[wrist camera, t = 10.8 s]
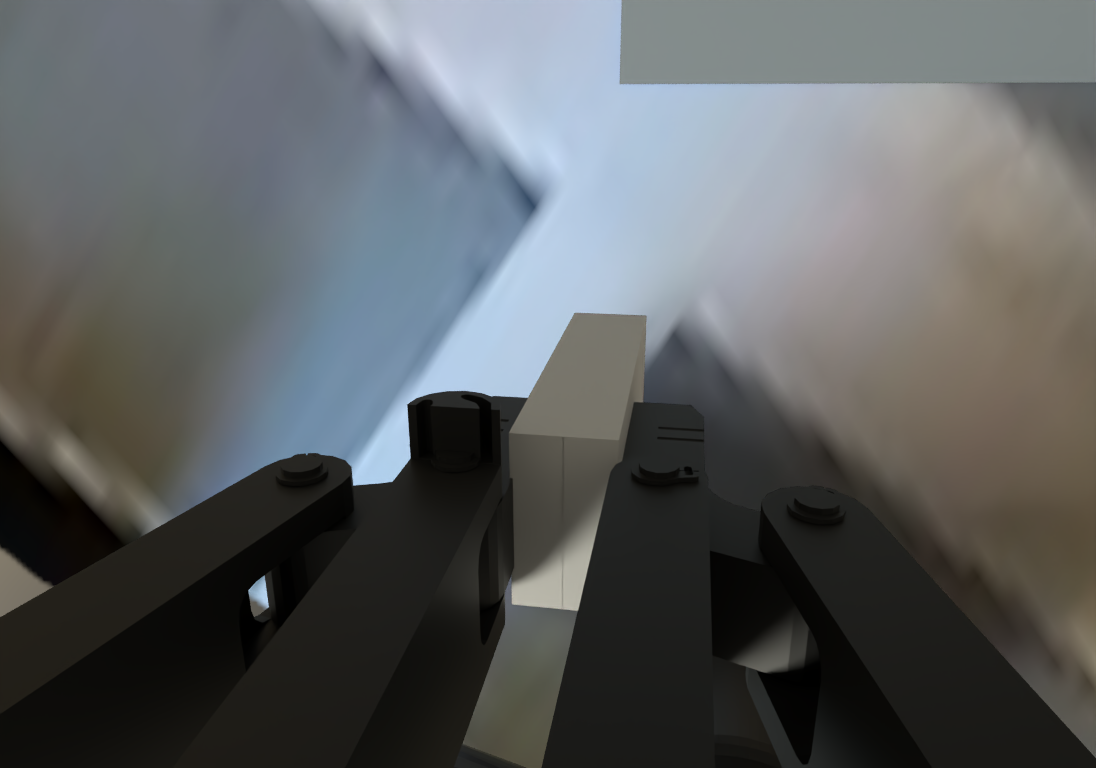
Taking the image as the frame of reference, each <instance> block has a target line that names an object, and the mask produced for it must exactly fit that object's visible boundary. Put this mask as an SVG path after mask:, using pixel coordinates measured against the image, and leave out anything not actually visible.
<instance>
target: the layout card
mask: <svg viewBox="0 0 1096 768" xmlns="http://www.w3.org/2000/svg"><path fill="white" fill-rule="evenodd" d="M1047 82H1096V0H622V15H621V54H620V84H773V83H1047Z"/></svg>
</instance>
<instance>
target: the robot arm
mask: <svg viewBox="0 0 1096 768" xmlns="http://www.w3.org/2000/svg"><path fill="white" fill-rule="evenodd" d="M645 341H646V316H642V315H618V314H593V313H574V315H573V317H572V319H571V321H570V322H569V324H568V326H567V328H566V330H565V332H564V333H563V335H562V337H561V339H560V341H559V343H558V344H557V346H556V348H555V350H554V352H553V353H552V355H551V357H550V359H549V361H548V363H547V364H546V366H545V368H544V370H543V372H542V373H541V375H540V377H539V379H538V381H537V383H536V384H535V386H534V388H533V390H532V392H531V394H530V395H529V397H528V398H518V397H501V396H493V397H491V396H488V395H485V394H482V393H476V392H469V391H447V392H440V393H433V394H429V395H426V396H423V397H419V398H416V399H415V400H413V401H412V402H410V403H409V404H407V405H408V421H409V437H410V453H411V459H410V460H409V461H408V463H407V464H406V465H405V467H404V468H403V469H402V471H401V472H400V473H399V474H398V476H397V477H396V478H395V480H394V481H393V482H388V483H381V484H368V485H356V486H353V480H352V469H351V466H350V465H349V464H348V463H347V462H346V461H345V460H342V459H339V458H337V457H334V456H325V455H320V454H318V453H308V455H306V454H297V455H294V456H293V457H291V458H287V459H283V460H279V461H277V462H274V463H272V464H270V465H267V466H265V467H263V468H261V469H260V470H258V471H256V472H254V473H253V474H251V475H249V476H247V477H245V478H244V479H242V480H240V481H238V482H237V483H235V484H233V485H231V486H230V487H228V488H226V489H224V490H223V491H221V492H219V493H217V494H216V495H214V496H212V497H210V498H209V499H207V500H205V501H203V502H202V503H200V504H198V505H196V506H195V507H193V508H191V509H189V510H188V511H186V512H184V513H182V514H181V515H179V516H177V517H175V518H174V519H172V520H170V521H168V522H167V523H165V524H163V525H161V526H160V527H158V528H156V529H154V530H153V531H151V532H149V533H147V534H146V535H144V536H142V537H140V538H139V539H137V540H135V541H133V542H131V543H130V544H128V545H126V546H124V547H123V548H121V549H119V550H117V551H116V552H114V553H112V554H110V555H109V556H107V557H105V558H103V559H102V560H100V561H98V562H96V563H95V564H93V565H91V566H89V567H88V568H86V569H84V570H82V571H81V572H79V573H77V574H75V575H74V576H72V577H70V578H68V579H67V580H65V581H63V582H61V583H60V584H58V585H56V586H54V587H53V588H51V589H49V590H47V591H46V592H44V593H42V594H40V595H39V596H37V597H35V598H33V599H32V600H30V601H28V602H26V603H25V604H23V605H21V606H19V607H18V608H16V609H14V610H12V611H11V612H9V613H7V614H6V615H4V616H2V617H0V768H526V767H523V766H520V765H518V764H515V763H512V762H510V761H507V760H504V759H502V758H499V757H496V756H493V755H491V754H488V753H485V752H483V751H480V750H477V749H475V748H472V747H469V746H467V745H464V744H462V743H463V740H464V737H465V735H466V732H467V729H468V726H469V723H470V720H471V718H472V715H473V712H474V709H475V706H476V704H477V701H478V698H479V695H480V692H481V690H482V687H483V684H484V681H485V678H486V675H487V673H488V670H489V667H490V664H491V661H492V659H493V656H494V653H495V650H496V647H497V644H498V642H499V639H500V636H501V633H502V630H503V628H504V625H505V590H506V587H507V585H508V582H509V579H510V577H511V574H512V604H515V605H525V606H535V607H545V608H556V609H566V610H576V611H578V613H577V617H576V622H575V626H574V630H573V635H572V639H571V643H570V648H569V652H568V656H567V660H566V665H565V669H564V673H563V678H562V682H561V686H560V691H559V695H558V699H557V703H556V708H555V712H554V716H553V721H552V725H551V729H550V734H549V738H548V742H547V746H546V751H545V755H544V759H543V764H542V768H1096V758H1095V757H1094V756H1093V755H1092V753H1091V752H1090V751H1089V750H1088V749H1087V748H1086V747H1085V746H1084V745H1083V744H1082V743H1081V741H1080V740H1079V739H1078V738H1077V737H1076V736H1075V735H1074V734H1073V733H1072V732H1071V730H1070V729H1069V728H1068V727H1067V726H1066V725H1065V724H1064V723H1063V722H1062V721H1061V720H1060V718H1059V717H1058V716H1057V715H1056V714H1055V713H1054V712H1053V711H1052V710H1051V709H1050V707H1049V706H1048V705H1047V704H1046V703H1045V702H1044V701H1043V700H1042V699H1041V698H1040V697H1039V695H1038V694H1037V693H1036V692H1035V691H1034V690H1033V689H1032V688H1031V687H1030V686H1029V684H1028V683H1027V682H1026V681H1025V680H1024V679H1023V678H1022V677H1021V676H1020V675H1019V674H1018V672H1017V671H1016V670H1015V669H1014V668H1013V667H1012V666H1011V665H1010V664H1009V663H1008V661H1007V660H1006V659H1005V658H1004V657H1003V656H1002V655H1001V654H1000V653H999V652H998V651H997V649H996V648H995V647H994V646H993V645H992V644H991V643H990V642H989V641H988V640H987V639H986V637H985V636H984V635H983V634H982V633H981V632H980V631H979V630H978V629H977V628H976V626H975V625H974V624H973V623H972V622H971V621H970V620H969V619H968V618H967V617H966V616H965V614H964V613H963V612H962V611H961V610H960V609H959V608H958V607H957V606H956V605H955V603H954V602H953V601H952V600H951V599H950V598H949V597H948V596H947V595H946V594H945V593H944V591H943V590H942V589H941V588H940V587H939V586H938V585H937V584H936V583H935V582H934V580H933V579H932V578H931V577H930V576H929V575H928V574H927V573H926V572H925V571H924V570H923V568H922V567H921V566H920V565H919V564H918V563H917V562H916V561H915V560H914V559H913V557H912V556H911V555H910V554H909V553H908V552H907V551H906V550H905V549H904V548H903V547H902V545H901V544H900V543H899V542H898V541H897V540H896V539H895V538H894V537H893V536H892V535H891V533H890V532H889V531H888V530H887V529H886V528H885V527H884V526H883V525H882V524H881V522H880V521H879V520H878V519H877V518H876V517H875V516H874V515H873V514H872V513H871V512H870V510H869V509H868V508H866V507H865V506H864V505H862V504H861V503H860V502H858V501H857V500H856V499H854V498H851V497H849V496H846V495H844V494H841V493H839V492H838V491H836V490H833V489H829V488H826V489H823V488H824V487H819V486H809V487H798V486H797V487H790V488H782V489H778V490H776V491H774V492H771V493H769V494H767V495H766V497H765V498H764V500H763V501H762V503H761V512H760V511H756V510H751V509H747V508H744V507H741V506H737V505H734V504H732V503H729V502H727V501H725V500H723V499H721V498H719V497H718V496H717V495H715V494H714V493H712V492H711V490H710V489H709V488H708V478H707V476H706V473H705V464H704V418H703V416H702V415H701V414H700V413H699V412H698V411H697V410H696V409H695V408H694V407H692V406H691V405H678V404H661V403H643V392H644V367H645ZM264 575H265V581H266V589H267V596H268V604H269V608H267V609H266V610H265V611H264V612H262V613H261V614H260V615H258V616H256V617H254V616H253V614H252V612H251V606H250V599H249V592H248V590H249V589H250V588H251V587H252V586H253V584H254V583H255V582H256V581H257V580H259V579H260V578H261V577H263V576H264Z"/></svg>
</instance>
